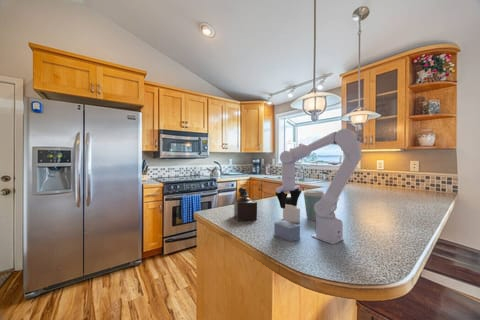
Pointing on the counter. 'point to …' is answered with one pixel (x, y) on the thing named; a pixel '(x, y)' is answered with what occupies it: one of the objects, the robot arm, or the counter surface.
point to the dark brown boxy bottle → (245, 207)
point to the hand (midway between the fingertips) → (288, 206)
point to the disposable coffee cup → (312, 202)
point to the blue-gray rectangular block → (287, 230)
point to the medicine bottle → (291, 212)
